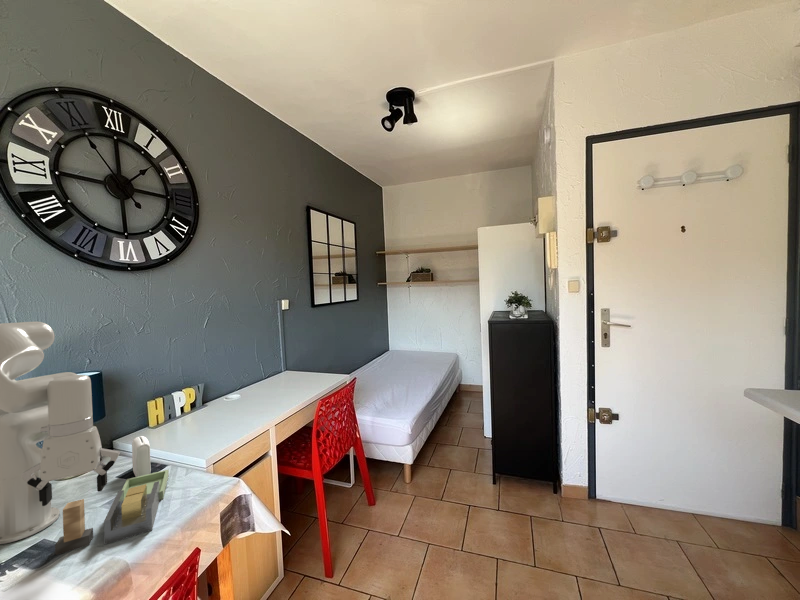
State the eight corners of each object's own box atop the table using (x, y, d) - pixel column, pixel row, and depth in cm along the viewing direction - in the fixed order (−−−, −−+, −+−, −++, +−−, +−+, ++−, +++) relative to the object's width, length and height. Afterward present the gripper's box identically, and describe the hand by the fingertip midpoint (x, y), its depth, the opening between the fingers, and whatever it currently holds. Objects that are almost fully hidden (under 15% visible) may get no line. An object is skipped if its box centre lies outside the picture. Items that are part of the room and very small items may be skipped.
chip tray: (115, 512, 91) (115, 503, 91) (127, 486, 103) (126, 479, 103) (163, 499, 97) (163, 490, 97) (168, 476, 109) (168, 469, 109)
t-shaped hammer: (55, 555, 76) (53, 512, 76) (60, 546, 79) (59, 505, 78) (89, 545, 79) (88, 503, 79) (93, 537, 82) (92, 496, 81)
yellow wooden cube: (121, 520, 83) (121, 505, 83) (125, 511, 87) (125, 497, 87) (141, 514, 85) (140, 500, 85) (144, 506, 89) (143, 492, 89)
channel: (104, 544, 79) (103, 521, 79) (118, 512, 91) (118, 491, 91) (152, 530, 84) (151, 507, 84) (159, 500, 96) (159, 481, 96)
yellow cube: (125, 510, 87) (125, 496, 87) (129, 502, 91) (128, 488, 91) (144, 505, 89) (144, 491, 89) (147, 497, 93) (146, 484, 93)
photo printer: (131, 470, 113) (130, 435, 113) (146, 465, 116) (145, 431, 116) (136, 481, 106) (135, 444, 106) (152, 475, 109) (151, 440, 109)
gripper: (11, 441, 71) (15, 518, 71) (113, 423, 79) (117, 491, 80) (28, 430, 77) (31, 500, 77) (121, 414, 86) (124, 477, 86)
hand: (75, 495), depth 78 cm, fingers open, 9 cm apart
